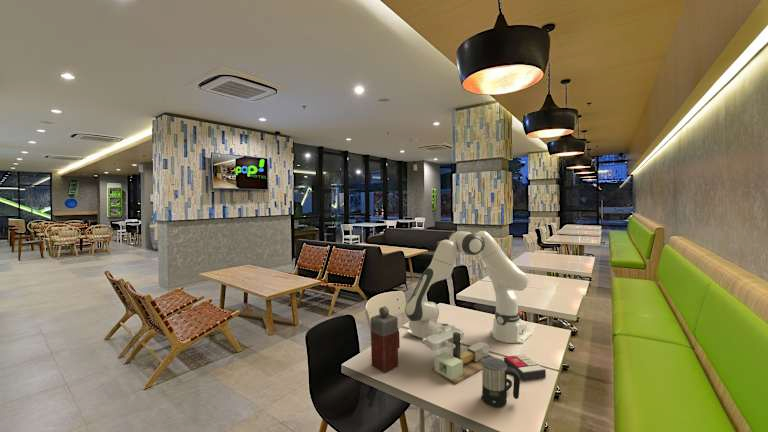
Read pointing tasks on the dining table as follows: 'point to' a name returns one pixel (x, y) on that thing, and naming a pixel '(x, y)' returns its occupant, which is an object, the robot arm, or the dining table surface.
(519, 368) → the calculator
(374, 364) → the red lidded canister
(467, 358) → the dark tall piece
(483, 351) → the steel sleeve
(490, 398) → the milk frother
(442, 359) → the socket block
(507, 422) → the dining table surface
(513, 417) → the dining table surface
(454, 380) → the walnut board
